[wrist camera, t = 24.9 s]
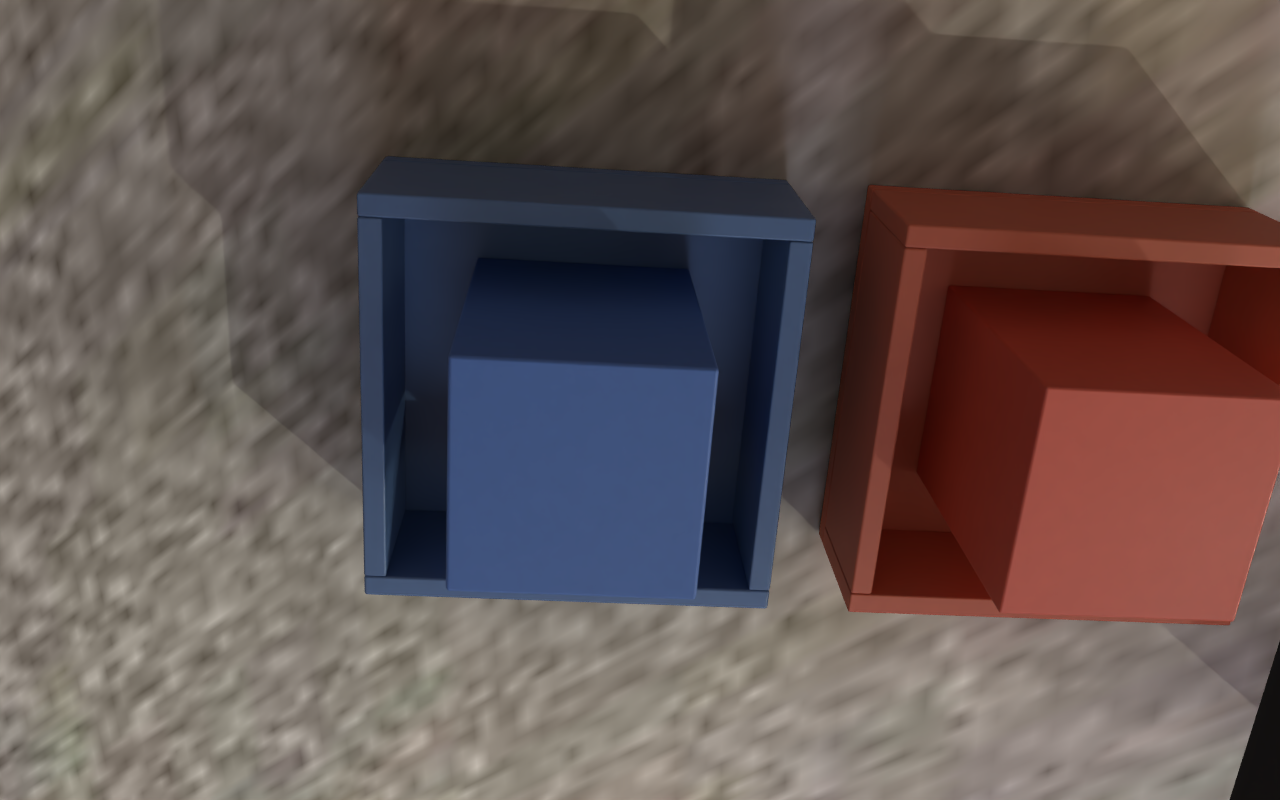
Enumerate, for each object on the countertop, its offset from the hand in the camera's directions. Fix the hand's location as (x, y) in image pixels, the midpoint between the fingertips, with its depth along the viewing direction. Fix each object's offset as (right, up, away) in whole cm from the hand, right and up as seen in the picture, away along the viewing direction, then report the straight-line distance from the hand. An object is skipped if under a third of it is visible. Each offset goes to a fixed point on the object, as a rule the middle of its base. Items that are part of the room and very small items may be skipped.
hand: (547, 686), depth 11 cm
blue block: (-1, +4, +25) cm, 25 cm away
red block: (+12, +3, +25) cm, 29 cm away
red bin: (+12, +3, +26) cm, 29 cm away
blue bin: (-1, +4, +25) cm, 25 cm away
